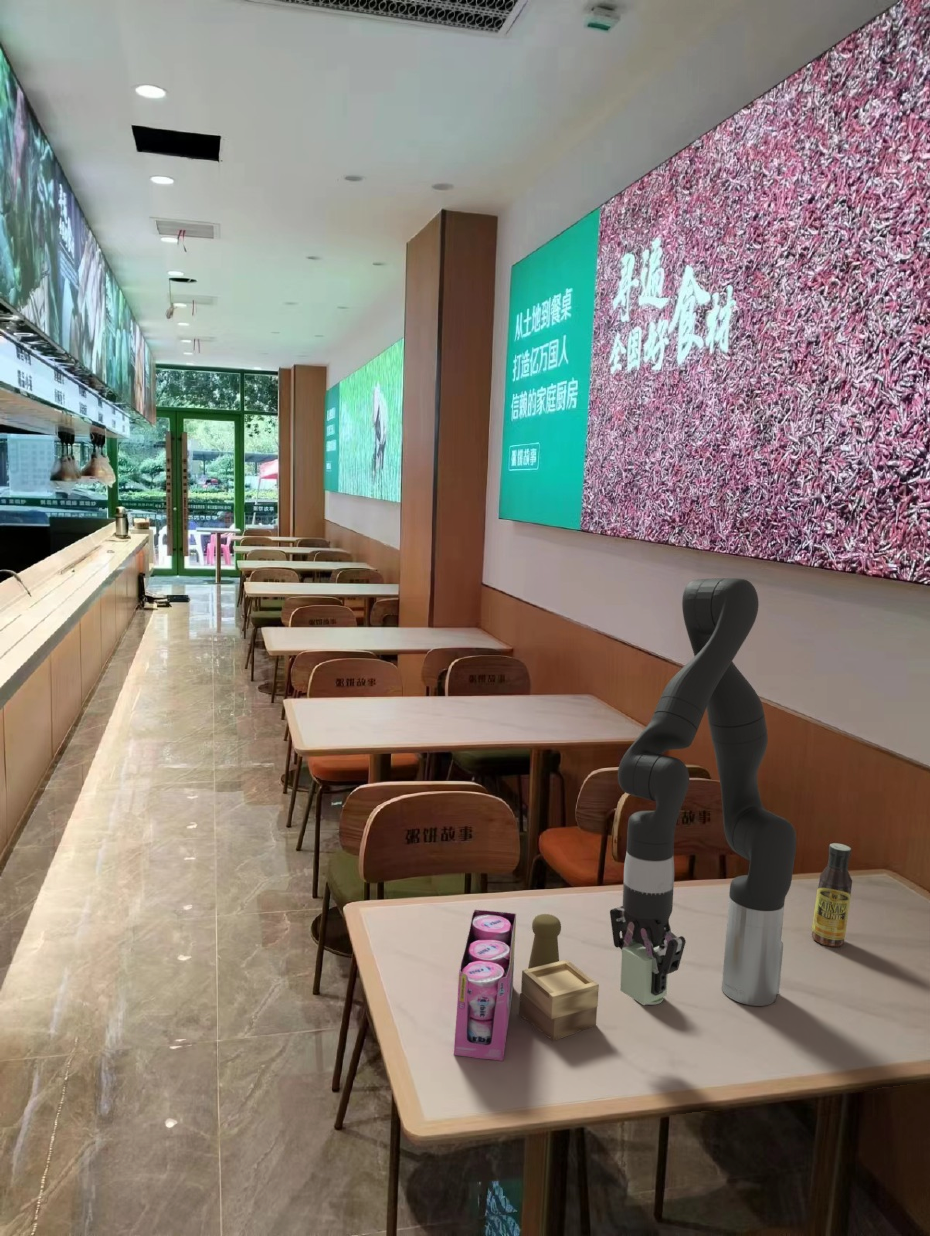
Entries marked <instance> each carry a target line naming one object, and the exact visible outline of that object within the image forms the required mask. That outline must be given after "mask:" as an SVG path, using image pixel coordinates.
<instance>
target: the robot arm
mask: <svg viewBox="0 0 930 1236" xmlns="http://www.w3.org/2000/svg"><path fill="white" fill-rule="evenodd" d="M681 606H682V607H681V608H682V616H683V620H684V621H683V622H684V625H685V628H686V632H687V636H688V639H689V642H690V646H691V649H692V653H693V655H694V657H693V658H692V659H691V660H690V661H688V662H687V663H686V664H685V665H684V666H683V667H682V668H681V669H680V670H679V671H677V673H675V675H674V676H673V677H672V678H671V679H670V681H669V682H668V683H667V684H666V686H665V688H664V689H663V692H662V693H661V696H660V698H659V701H658V703H657V705H656V707H655V710H654V712H653V715H652V717H651V719H650V722H649V723H648V724H647V725H646V726H645V728H644V729H643V730H642V732H641V733H640V734H639V736H638V737H637V738H636V739H635V740H634V741H633V743H632V744H631V746H630V747H629V748H628V749H627V750H626V751H625V753H624V754H623V757H622V758H621V760H620V762H619V765H618V770H617V781H618V785H619V787H620V789H621V790H622V791H623V792H624V793H625V794H628V795H630V796H632V797H637V798H641V799H645V800H649V801H652V802H655V803H656V807H655V810H640V811H639V810H638V811H635V812H634V813H633V814H631V815H630V816H629V818H628V821H627V831H626V832H627V833H626V834H627V835H626V853H625V859H624V865H623V866H624V867H623V885H622V886H623V887H622V905H621V906H617V907H615V908H612V909H610V910H609V914H610V915H609V917H610V923H611V924H610V925H611V932H612V938H613V939H612V940H613V946H614V947H615V948H618V949H620V950H621V951H622V948H624V947H627V946H629V947H631V946H633V945H635V944H637V943H638V944H639V943H640V944H642V945H643V946H644V947H645V948H646V953H647V957H648V958H650V959H652V970H653V972H652V981H651V994H653V995H655V996H657V995H659V994H661V993H663V991H665V989H666V976H667V974H668V975H669V974H671V973H674V972H676V971H678V970H679V968H680V964H681V960H682V957H683V953H684V951H685V950H684V949H685V946H686V943H687V942H686V938H685V937H684V936H683V935H681V936H677V935H675V934H674V933H673V932H672V930H671V929H672V927H671V926H670V917H671V914H672V912H673V904H674V903H673V902H674V883H675V863H674V861H675V860H674V852H675V851H674V850H675V849H674V846H675V832H676V827H677V822H678V819H679V816H680V812H681V810H682V806H683V803H684V801H685V798H686V795H687V793H688V790H689V788H690V773H689V770H688V767H687V766H686V764H685V763H684V762H683V760H681V759H679V758H678V757H674V756H669V755H665V754H664V753H665V752H667V751H673V750H683V749H684V750H685V749H687V748H689V747H690V746H691V745H692V743H693V742H694V740H695V738H696V734H697V733H698V730H699V728H700V724H701V723H702V722H701V721H702V719H703V718H704V715H705V712H706V717H707V721H708V726H709V732H710V738H711V743H712V745H713V751H714V755H715V761H716V767H717V772H718V779H719V785H720V791H721V804H722V805H721V806H722V807H721V808H722V820H723V829H724V835H725V839H726V842H727V844H728V846H729V847H730V848H731V850H732V851H733V852H735V853H736V854H737V855H739V856H740V857H742V858H744V859H745V860H748V861H749V867H748V874H744V875H738V876H736V877H734V878H733V879H732V880H731V882H730V884H729V895H728V904H727V905H728V906H727V907H728V908H727V922H726V932H725V933H726V934H725V943H724V945H725V946H724V954H723V955H724V956H723V968H722V969H723V970H722V980H721V990H722V992H723V993H724V994H725V996H727V997H728V998H730V999H731V1000H733V1001H735V1002H738V1003H740V1004H744V1005H747V1006H752V1007H753V1006H756V1007H762V1006H768V1005H772V1004H773V1003H774V1002H775V1001H776V999H777V995H779V994H780V988H781V987H780V985H781V975H782V965H783V954H784V942H783V941H782V935H783V934H782V933H783V924H784V911H785V901H786V897H787V894H788V893H789V891H790V889H791V885H792V880H793V872H794V866H795V859H796V854H797V852H796V851H797V834H796V829H795V828H794V825H793V824H792V823H791V822H790V821H789V820H788V819H786V818H784V817H782V816H780V815H778V814H776V813H774V812H772V811H769V810H768V809H765V807H764V805H763V802H762V799H761V794H760V789H759V784H758V783H759V782H758V773H759V769H760V766H761V764H762V761H763V759H764V757H765V754H766V751H767V747H768V743H769V742H768V741H769V738H768V737H769V736H768V727H767V723H766V717H765V712H764V711H765V710H764V707H763V706H764V705H763V703H762V701H761V698H760V697H759V695H758V693H757V691H756V690H755V689H754V687H753V686H752V685H751V684H750V682H749V681H748V680H747V678H746V677H745V676H744V675H743V674H742V672H741V671H740V670H739V668H738V667H737V666H736V664H735V663H734V662H733V660H734V659H735V658H736V655H737V654H738V652H739V650H740V649H741V647H742V646H743V644H744V642H745V641H746V639H747V637H748V636H749V633H750V632H751V630H752V629H753V626H754V624H755V622H756V620H757V616H758V614H759V613H758V612H759V597H758V592H757V589H756V588H755V586H754V585H753V583H752V582H750V581H749V580H747V579H745V578H737V577H722V578H720V577H719V578H698V579H693V580H692V581H690V582H688V583H687V584H686V587H685V588H684V591H683V594H682V601H681ZM658 946H659V948H658V949H656V950H654V948H655V947H658ZM659 956H661V963H659V961H658V957H659Z"/></svg>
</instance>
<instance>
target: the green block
mask: <svg viewBox="0 0 930 1236" xmlns="http://www.w3.org/2000/svg"><path fill="white" fill-rule="evenodd" d="M658 948H659V947H655V948H654V950H656V949H658ZM658 961H659V963H661V956H659V957H658ZM620 966H621V967H620V968H621V969H620V987H619V988H620V989H619V990H620V992H622V993H623V994H625V995H627V996H629V997H630V998H632V999H633V1000H634V1001H637V1002H638V1003H639V1004H641V1005H643V1006H645V1005H647V1004H648V1003H650V1002H653V1001H655V1000H657V999H659V998H662V997H663V998H665V997H667V992H668V976H669V974H667V976H666V989H665V991H663V993H661V994H659V995H657V996H655V995H653V994H651V981H652V972H653V970H652V959H650V958H648V957H647V953H646V948H645V947H644V946H643V945H642V944H640V943H639V944H638V943H637V944H635V945H633V946H631V947H629V946H627V947H624V948H622V950H621V965H620Z"/></svg>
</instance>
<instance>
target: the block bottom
mask: <svg viewBox="0 0 930 1236" xmlns="http://www.w3.org/2000/svg"><path fill="white" fill-rule="evenodd" d="M518 1008H519V1009H518V1015H520V1016H521V1018H524V1019H525V1020H526V1021H527V1022H529V1023H530V1024H531V1025H533V1027H535V1028H536V1029H537V1030H539V1031H540V1032H541V1033H543V1034H544V1035H545V1036H546V1037H548V1038H549V1039H550V1040H551V1041H553V1042H555V1041H557V1040H560V1039H563V1038H565V1037H567V1036H570V1035H573V1034H576V1033H579V1032H582V1031H584V1030H587V1029H590V1028H592V1027H595V1026H597V1014H598V1013H597V1012H598V1010H597V1009H598V1007H594V1008H591V1009H587V1010H583V1011H580V1012H576V1013H573V1014H569V1015H566V1016H562V1017H558V1018H555V1019H551V1018H549V1017H548V1016H547V1015H546V1014H545V1013H544V1012H543V1011H542V1010H541V1009H539V1008H538V1007H537V1006H536V1005H535V1004H534V1003H533V1002H532V1001H531V1000H529V999H528V998H527V997H526V996H525V995H524V994H523V993H522V992H520V993H519V1007H518Z"/></svg>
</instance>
